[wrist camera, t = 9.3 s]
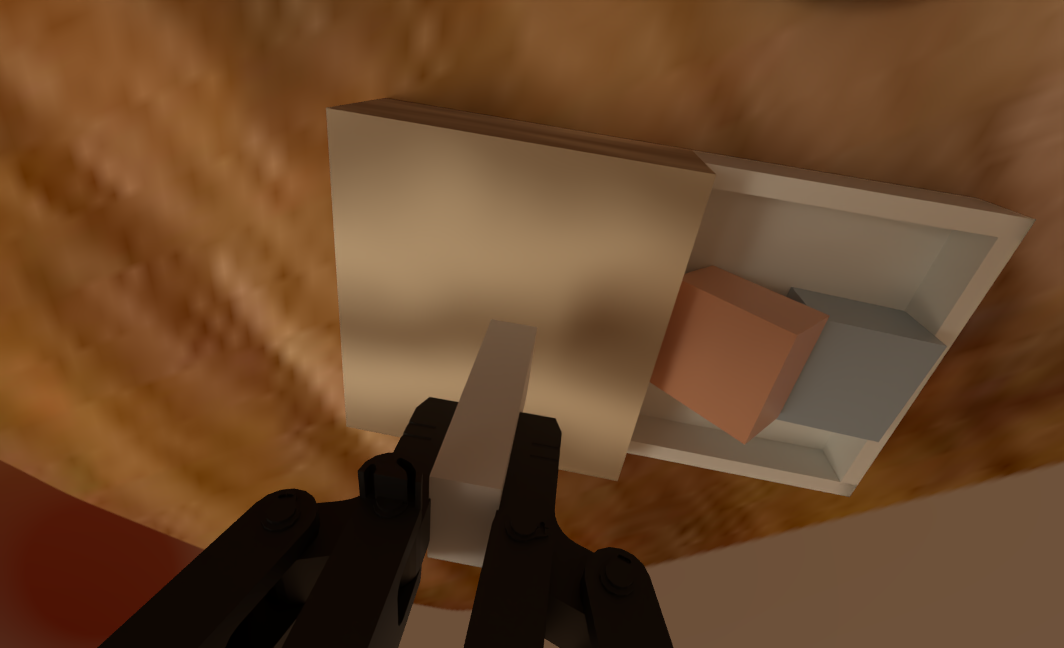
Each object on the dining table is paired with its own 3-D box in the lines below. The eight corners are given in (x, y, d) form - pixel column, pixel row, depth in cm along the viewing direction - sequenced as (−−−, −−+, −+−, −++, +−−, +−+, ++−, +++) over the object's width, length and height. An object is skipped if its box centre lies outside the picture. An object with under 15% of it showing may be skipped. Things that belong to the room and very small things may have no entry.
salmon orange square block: (712, 265, 21) (674, 276, 19) (829, 315, 18) (797, 335, 16) (679, 359, 24) (642, 377, 22) (777, 417, 21) (744, 444, 19)
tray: (691, 149, 20) (704, 163, 17) (977, 198, 19) (1036, 219, 17) (615, 412, 27) (616, 450, 24) (824, 453, 26) (849, 496, 24)
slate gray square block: (947, 346, 18) (904, 310, 21) (817, 318, 19) (791, 286, 21) (878, 442, 21) (847, 399, 24) (764, 416, 21) (746, 377, 24)
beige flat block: (385, 98, 20) (325, 107, 16) (691, 149, 20) (716, 174, 15) (387, 368, 27) (346, 426, 23) (615, 412, 27) (617, 481, 22)
